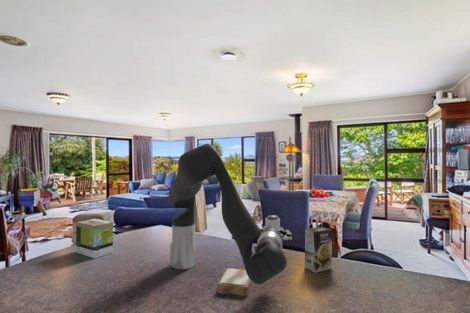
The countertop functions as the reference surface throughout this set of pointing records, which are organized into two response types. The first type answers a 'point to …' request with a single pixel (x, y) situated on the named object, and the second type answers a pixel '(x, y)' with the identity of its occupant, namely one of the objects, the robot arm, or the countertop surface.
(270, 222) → the cylinder
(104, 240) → the tea box
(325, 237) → the coffee box
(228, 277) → the plinth
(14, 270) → the countertop surface
